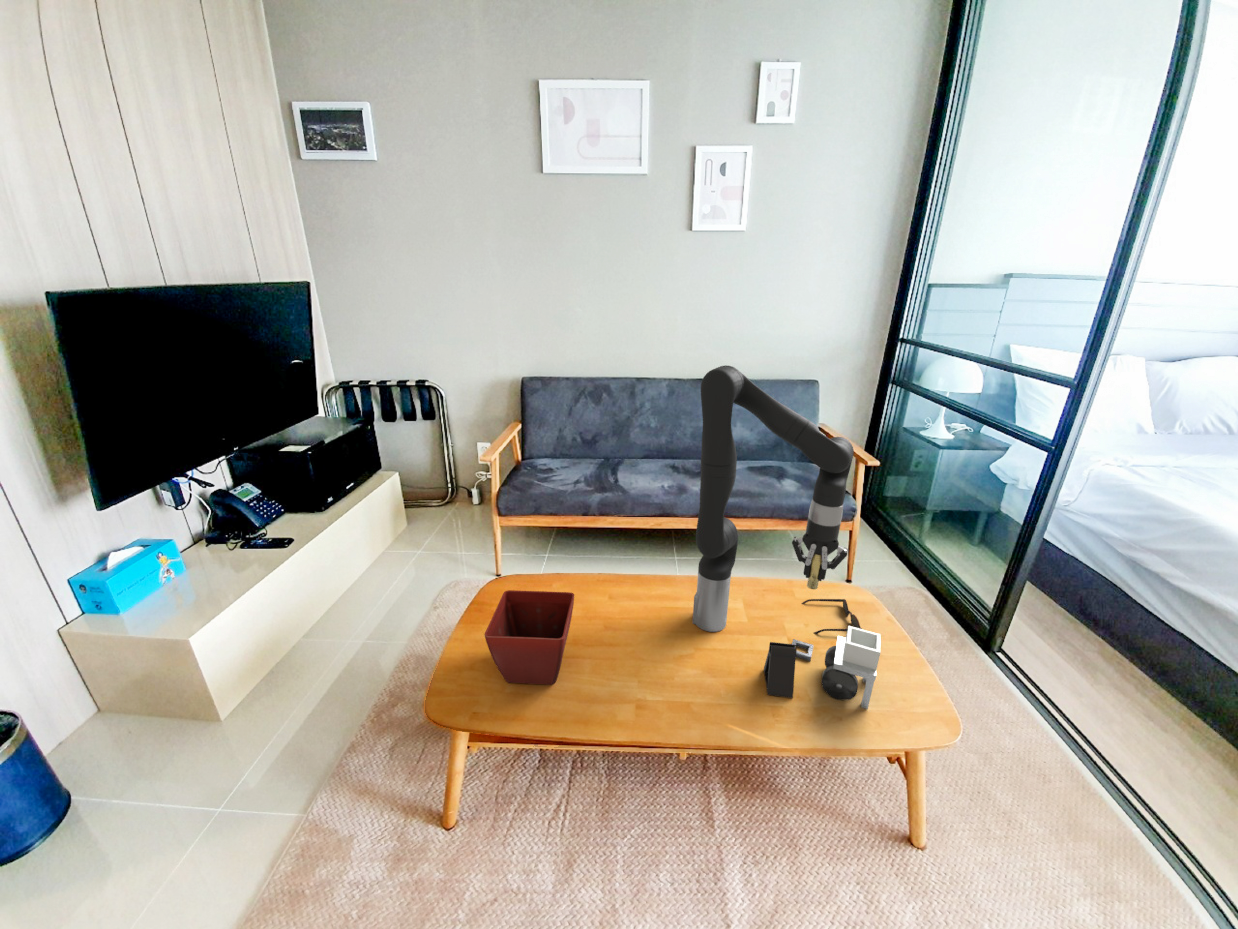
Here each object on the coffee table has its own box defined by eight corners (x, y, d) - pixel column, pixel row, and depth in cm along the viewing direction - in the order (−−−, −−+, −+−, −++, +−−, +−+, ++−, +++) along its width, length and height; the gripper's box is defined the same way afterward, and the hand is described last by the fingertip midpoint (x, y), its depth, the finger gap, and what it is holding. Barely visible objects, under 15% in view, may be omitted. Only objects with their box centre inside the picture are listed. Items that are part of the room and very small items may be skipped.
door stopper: (792, 698, 123) (799, 659, 119) (767, 695, 124) (772, 656, 120) (787, 672, 132) (793, 634, 127) (763, 669, 132) (768, 631, 128)
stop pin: (806, 587, 130) (812, 554, 127) (807, 582, 133) (813, 549, 129) (816, 590, 129) (823, 556, 126) (818, 585, 132) (824, 551, 128)
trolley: (819, 694, 125) (825, 660, 121) (823, 665, 134) (829, 633, 130) (868, 710, 120) (876, 675, 116) (869, 679, 129) (876, 646, 126)
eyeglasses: (860, 638, 145) (863, 624, 143) (808, 636, 145) (810, 622, 144) (842, 607, 158) (844, 593, 157) (794, 605, 159) (796, 592, 157)
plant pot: (508, 639, 142) (504, 589, 136) (576, 643, 141) (574, 591, 136) (488, 692, 124) (482, 636, 119) (565, 696, 124) (563, 639, 118)
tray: (843, 660, 121) (846, 643, 119) (845, 642, 127) (848, 625, 125) (876, 670, 118) (880, 652, 116) (876, 651, 124) (880, 634, 122)
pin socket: (789, 655, 137) (790, 651, 137) (792, 643, 142) (793, 639, 141) (810, 661, 135) (811, 657, 135) (812, 649, 140) (813, 645, 139)
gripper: (792, 517, 124) (783, 578, 130) (854, 530, 118) (841, 593, 124) (797, 506, 130) (788, 564, 136) (856, 517, 124) (843, 577, 130)
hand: (813, 577), depth 130 cm, fingers closed on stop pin, 2 cm apart
